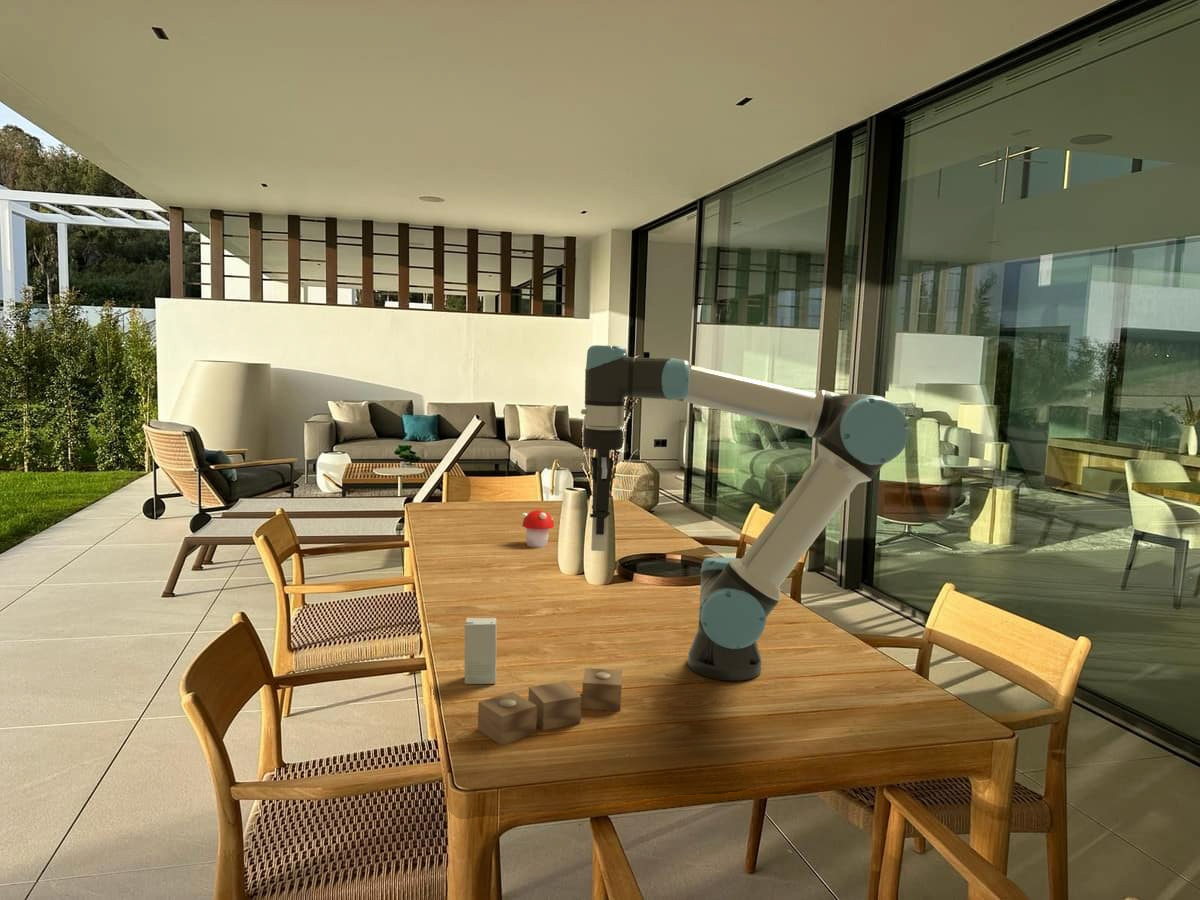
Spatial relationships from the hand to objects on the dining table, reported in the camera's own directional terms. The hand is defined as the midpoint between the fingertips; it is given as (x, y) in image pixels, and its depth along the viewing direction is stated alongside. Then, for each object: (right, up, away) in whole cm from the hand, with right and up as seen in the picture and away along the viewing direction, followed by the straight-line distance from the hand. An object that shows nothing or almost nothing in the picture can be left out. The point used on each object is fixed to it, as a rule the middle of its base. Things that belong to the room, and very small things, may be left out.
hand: (598, 549), depth 154 cm
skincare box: (-23, -26, +1) cm, 35 cm away
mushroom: (-21, -13, +115) cm, 118 cm away
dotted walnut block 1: (-15, -28, -19) cm, 37 cm away
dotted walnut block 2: (+1, -28, -6) cm, 28 cm away
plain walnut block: (-8, -28, -14) cm, 32 cm away
